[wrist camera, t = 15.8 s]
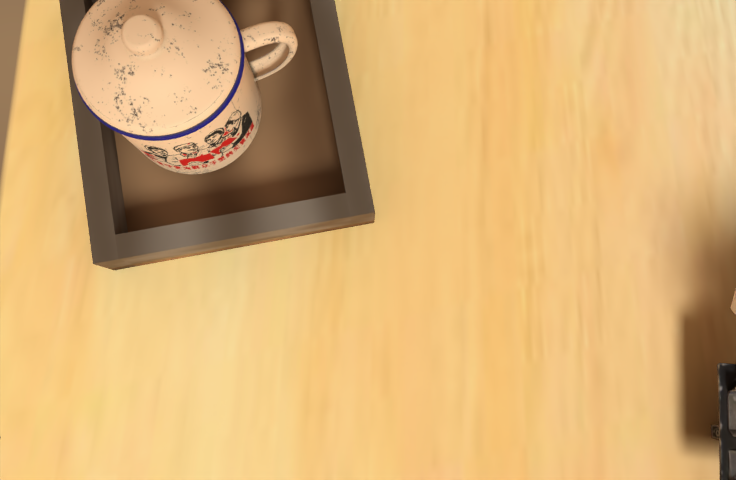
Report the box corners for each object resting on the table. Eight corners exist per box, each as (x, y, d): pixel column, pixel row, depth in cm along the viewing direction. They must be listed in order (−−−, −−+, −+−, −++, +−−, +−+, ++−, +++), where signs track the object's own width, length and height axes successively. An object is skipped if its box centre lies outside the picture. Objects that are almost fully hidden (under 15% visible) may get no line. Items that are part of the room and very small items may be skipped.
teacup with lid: (152, 200, 44) (78, 148, 33) (107, 74, 46) (21, -19, 34) (328, 133, 45) (316, 59, 33) (279, 11, 46) (251, -101, 35)
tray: (323, -44, 48) (320, -75, 44) (374, 222, 45) (374, 212, 42) (78, -2, 47) (55, -30, 44) (114, 270, 45) (93, 263, 41)
